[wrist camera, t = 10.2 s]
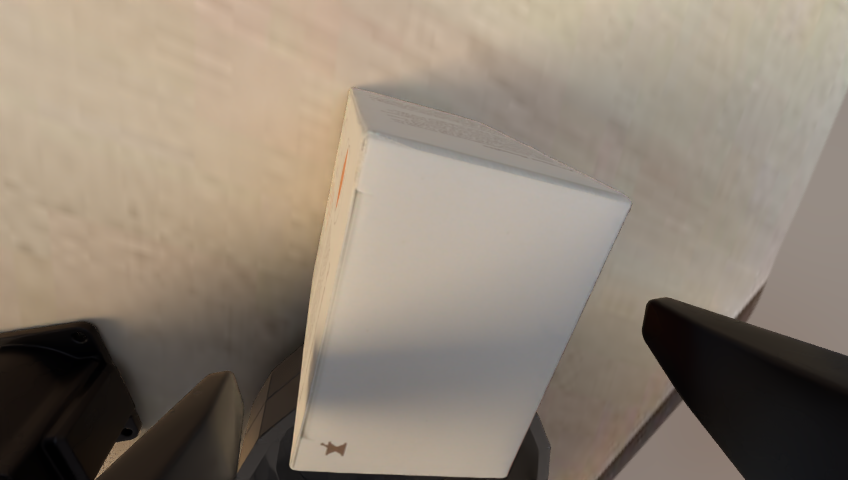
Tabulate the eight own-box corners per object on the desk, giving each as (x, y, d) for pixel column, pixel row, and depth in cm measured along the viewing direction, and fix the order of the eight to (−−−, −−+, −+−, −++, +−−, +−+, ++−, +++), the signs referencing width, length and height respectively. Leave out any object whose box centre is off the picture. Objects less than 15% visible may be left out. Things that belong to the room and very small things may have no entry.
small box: (430, 285, 21) (507, 488, 11) (311, 266, 19) (284, 482, 10) (483, 119, 18) (648, 200, 8) (348, 81, 16) (363, 128, 7)
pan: (283, 530, 26) (272, 620, 22) (218, 334, 20) (187, 409, 16) (512, 479, 28) (542, 553, 24) (518, 287, 22) (559, 342, 17)
